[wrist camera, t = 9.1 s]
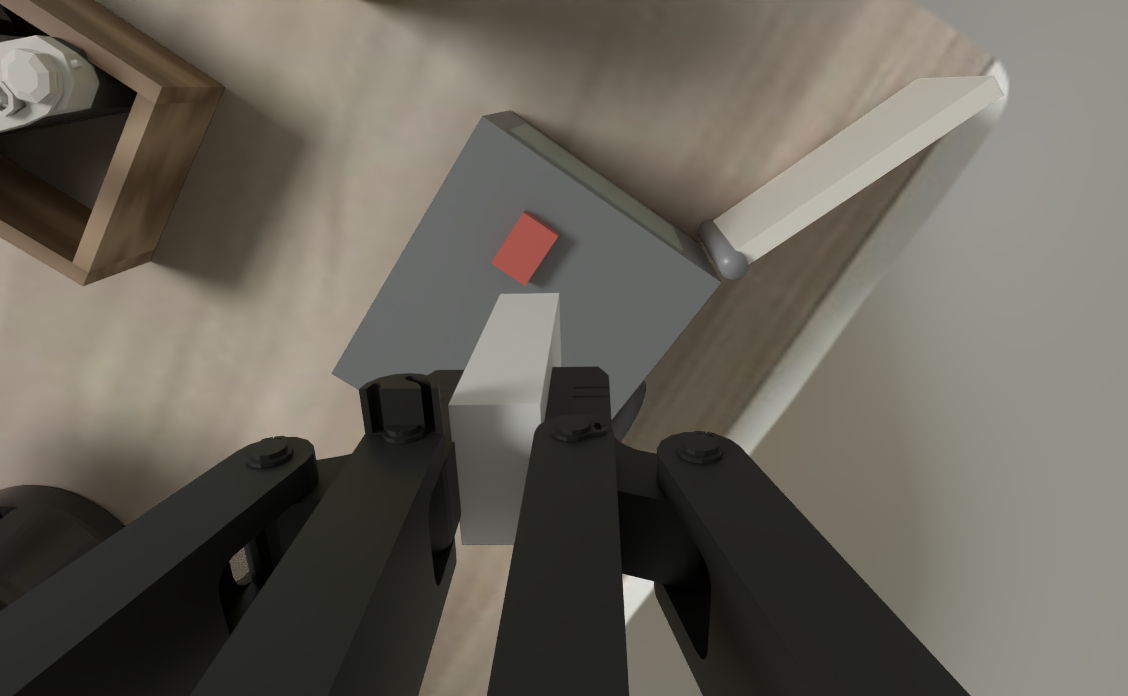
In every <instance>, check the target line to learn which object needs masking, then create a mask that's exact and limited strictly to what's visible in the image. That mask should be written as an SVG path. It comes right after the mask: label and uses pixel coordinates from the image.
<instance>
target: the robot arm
mask: <svg viewBox="0 0 1128 696" xmlns="http://www.w3.org/2000/svg"><path fill="white" fill-rule="evenodd" d="M359 394H360V400H361V407H362V414H363V421H364V427H365V435H364V437H363V438H362V440H361V441H360V443H359V444H358V446H357V447H356V449H355V450H354V452H353V453H352V454H348V455H344V456H339V457H333V458H327V459H321V460H316V456H315V451H314V446H313V445H312V444H311V443H310V442H309V441H308V440H305V439H302V438H298V437H285V436H277V437H274V438H273V437H270V438H265V439H262V440H261V441H259V442H256V443H253V444H250V445H248V446H246V447H244V448H242V449H240V450H238V451H237V452H235V453H233V454H232V455H231V456H229V457H228V458H226V459H225V460H223V461H222V462H220V463H219V464H217V465H216V466H214V467H213V468H211V469H210V470H208V471H207V472H205V473H204V474H202V475H201V476H199V477H198V478H197V479H195V480H194V481H192V482H191V483H189V484H188V485H186V486H185V487H183V488H182V489H180V490H179V491H177V492H176V493H174V494H173V495H171V496H170V497H168V498H167V499H165V500H164V501H163V502H161V503H160V504H158V505H157V506H155V507H154V508H152V509H151V510H149V511H148V512H146V513H145V514H143V515H142V516H140V517H139V518H137V519H136V520H134V521H133V522H131V523H130V524H129V525H127V526H126V527H123V526H122V525H121V524H120V523H119V522H118V521H117V520H116V519H115V518H113V517H112V516H111V515H110V514H108V513H107V512H106V511H104V510H103V509H101V508H100V507H98V506H97V505H95V504H93V503H91V502H90V501H88V500H86V499H84V498H82V497H79V496H77V495H75V494H72V493H69V492H66V491H63V490H60V489H56V488H51V487H46V486H36V485H23V486H14V487H10V488H6V489H3V490H0V696H418V694H419V691H420V687H421V684H422V680H423V677H424V673H425V670H426V666H427V663H428V660H429V656H430V653H431V649H432V646H433V642H434V639H435V635H436V632H437V628H438V625H439V621H440V618H441V614H442V611H443V608H444V604H445V601H446V597H447V594H448V590H449V587H450V583H451V580H452V576H453V573H454V569H455V566H456V547H455V537H454V536H455V533H456V530H457V527H458V524H459V520H460V530H461V540H462V545H514V548H513V553H512V559H511V565H510V570H509V576H508V581H507V587H506V592H505V598H504V604H503V609H502V615H501V620H500V626H499V631H498V637H497V642H496V648H495V654H494V659H493V665H492V670H491V676H490V681H489V687H488V692H487V696H629V686H628V669H627V651H626V634H625V616H624V599H623V582H622V574H626V575H630V576H634V577H639V578H643V579H647V580H651V581H654V589H655V594H656V597H657V600H658V602H659V604H660V606H661V608H662V610H663V612H664V614H665V617H666V618H667V621H668V623H669V625H670V627H671V629H672V631H673V634H674V636H675V638H676V640H677V642H678V644H679V646H680V648H681V650H682V653H683V655H684V657H685V659H686V661H687V663H688V665H689V667H690V669H691V671H692V674H693V676H694V678H695V680H696V682H697V684H698V686H699V688H700V691H701V693H702V695H703V696H970V695H969V694H968V693H967V691H966V690H965V689H964V688H963V687H962V686H961V685H960V684H959V683H958V682H957V681H956V680H955V679H954V678H953V676H952V675H951V674H950V673H949V672H948V671H947V670H946V669H945V668H944V667H943V666H942V664H940V662H939V661H938V660H937V659H936V658H935V657H934V656H933V655H932V654H931V653H930V652H929V650H928V649H927V648H926V647H925V646H924V645H923V644H922V643H921V642H920V641H919V640H918V638H917V637H916V636H915V635H914V634H913V633H912V632H911V631H910V630H909V629H908V628H907V627H906V626H905V624H904V623H903V622H902V621H901V620H900V619H899V618H898V617H897V616H896V615H895V614H894V613H893V611H892V610H891V609H890V608H889V607H888V606H887V605H886V604H885V603H884V602H883V601H882V600H881V599H880V598H879V596H878V595H877V594H876V593H875V592H874V591H873V590H872V589H871V588H870V587H869V585H868V584H867V583H866V582H864V580H863V579H862V578H861V577H860V576H859V575H858V574H857V573H856V571H854V570H853V568H852V567H851V566H850V565H849V564H848V563H847V562H846V561H845V560H844V558H843V557H841V555H840V554H839V553H838V552H837V551H836V550H835V549H834V548H833V547H832V545H831V544H830V543H829V542H828V541H827V540H826V539H825V538H824V537H823V536H822V535H821V534H820V533H819V531H818V530H817V529H816V528H815V527H814V526H813V525H812V524H811V523H810V522H809V521H808V520H807V518H805V516H804V515H803V514H802V513H801V512H800V511H799V510H798V509H797V508H796V507H795V505H794V504H793V503H792V502H791V501H790V500H789V499H788V498H787V497H786V496H785V495H784V494H783V493H782V492H781V491H780V489H779V488H778V487H777V486H776V485H775V484H774V483H773V482H772V481H771V480H770V478H769V477H768V476H767V475H766V474H765V473H764V472H763V471H762V470H761V469H760V468H759V467H758V465H757V464H756V463H755V462H754V461H753V460H752V459H751V458H750V457H749V456H748V455H747V454H746V453H745V451H744V450H743V449H742V448H741V447H740V446H738V445H737V444H736V443H734V442H733V441H732V440H730V439H727V438H725V437H722V436H719V435H717V434H715V433H710V432H707V433H705V432H704V431H695V432H684V433H680V434H676V435H671V436H669V437H668V438H666V439H664V440H663V441H661V443H660V445H659V446H658V448H657V454H655V453H649V452H644V451H640V450H636V449H633V448H631V447H628V446H626V445H624V444H623V443H621V442H620V441H618V440H617V438H616V437H615V436H614V431H613V429H612V419H611V402H610V385H609V375H608V374H606V373H605V372H604V371H603V370H602V369H601V368H600V367H599V366H595V367H561V337H560V306H559V293H528V294H500V296H499V298H498V300H497V302H496V304H495V306H494V309H493V311H492V313H491V315H490V317H489V319H488V321H487V324H486V326H485V328H484V330H483V332H482V334H481V336H480V338H479V341H478V343H477V345H476V347H475V349H474V351H473V353H472V355H471V358H470V360H469V362H468V364H467V366H466V368H465V370H435V371H434V372H432V373H430V374H429V375H424V374H416V373H403V374H393V375H388V376H384V377H380V378H377V379H375V380H372V381H370V382H367V383H366V384H365V385H363V386H362V387H361V388H359ZM243 547H244V550H245V554H246V558H247V563H248V567H249V572H248V573H247V574H246V575H245V576H244V577H243V578H242V579H240V580H238V581H237V582H236V581H235V580H234V578H233V575H232V571H231V567H230V563H229V560H230V559H231V558H232V557H233V556H234V555H235V554H236V553H237V552H238V551H239V550H241V549H242V548H243Z"/></svg>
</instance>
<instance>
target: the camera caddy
mask: <svg viewBox="0 0 1128 696" xmlns="http://www.w3.org/2000/svg"><path fill="white" fill-rule="evenodd" d="M0 4H1V5H3V6H4V7H6V8H8V9H9V10H11V11H12V12H14V13H15V14H17V15H18V16H20V17H22V18H23V19H25V20H26V21H28V22H29V23H31V24H32V25H34V26H35V27H37V28H39V29H40V30H42V31H43V32H45V33H46V34H48V35H49V36H51V37H59V38H61V39H63V40H65V41H67V42H69V43H71V44H73V45H75V46H77V47H79V48H81V49H83V50H84V51H85V53H86V56H87V58H88V60H89V61H90V62H91V63H93V64H94V65H96V66H97V67H99V68H101V69H102V70H104V71H105V72H107V73H108V74H110V75H111V76H113V77H115V78H116V79H118V80H119V81H121V82H122V83H124V84H125V85H127V86H128V87H130V88H132V89H133V90H135V91H136V92H138V93H137V95H136V98H135V101H134V103H133V106H132V108H131V111H130V114H129V116H128V119H127V121H126V124H125V127H124V129H123V132H122V134H121V137H120V140H119V142H118V145H117V148H116V150H115V153H114V155H113V158H112V161H111V163H110V166H109V168H108V171H107V174H106V176H105V179H104V181H103V184H102V187H101V189H100V192H99V194H98V197H97V200H96V202H95V205H94V207H93V210H92V211H91V210H90V209H88V208H86V207H85V206H83V205H81V204H80V203H78V202H77V201H75V200H73V199H72V198H70V197H68V196H67V195H65V194H63V193H62V192H60V191H59V190H57V189H55V188H54V187H52V186H50V185H49V184H47V183H45V182H44V181H42V180H41V179H39V178H37V177H36V176H34V175H32V174H31V173H29V172H27V171H26V170H24V169H23V168H21V167H19V166H18V165H16V164H14V163H13V162H11V161H9V160H8V159H6V158H4V157H3V156H1V155H0V237H1V238H2V239H4V240H6V241H7V242H9V243H11V244H13V245H14V246H16V247H18V248H19V249H21V250H23V251H24V252H26V253H28V254H29V255H31V256H33V257H35V258H36V259H38V260H40V261H41V262H43V263H45V264H46V265H48V266H50V267H51V268H53V269H55V270H57V271H58V272H60V273H62V274H63V275H65V276H67V277H68V278H70V279H72V280H73V281H75V282H77V283H79V284H80V285H82V286H85V285H88V284H90V283H93V282H96V281H98V280H101V279H104V278H107V277H109V276H112V275H115V274H117V273H120V272H123V271H125V270H128V269H131V268H133V267H136V266H139V265H142V264H144V263H147V262H150V260H151V257H152V255H153V253H154V250H155V248H156V246H157V243H158V241H159V239H160V236H161V234H162V232H163V229H164V227H165V225H166V222H167V220H168V218H169V216H170V213H171V211H172V209H173V206H174V204H175V202H176V199H177V197H178V195H179V192H180V190H181V188H182V185H183V183H184V181H185V178H186V176H187V174H188V172H189V169H190V167H191V165H192V162H193V160H194V158H195V155H196V153H197V151H198V148H199V146H200V144H201V141H202V139H203V137H204V134H205V132H206V130H207V127H208V125H209V123H210V121H211V118H212V116H213V114H214V111H215V109H216V107H217V104H218V102H219V100H220V97H221V95H222V93H223V90H224V88H225V87H224V86H222V85H221V84H219V83H218V82H216V81H215V80H213V79H212V78H210V77H209V76H207V75H206V74H204V73H203V72H201V71H200V70H198V69H197V68H195V67H194V66H192V65H191V64H189V63H188V62H186V61H185V60H183V59H182V58H180V57H179V56H177V55H175V54H174V53H172V52H171V51H169V50H168V49H166V48H165V47H163V46H162V45H160V44H159V43H157V42H156V41H154V40H153V39H151V38H150V37H148V36H147V35H145V34H144V33H142V32H141V31H139V30H138V29H136V28H135V27H133V26H132V25H130V24H129V23H127V22H126V21H124V20H123V19H121V18H119V17H118V16H116V15H115V14H113V13H112V12H110V11H109V10H107V9H106V8H104V7H103V6H101V5H100V4H98V3H97V2H95V1H94V0H0Z"/></svg>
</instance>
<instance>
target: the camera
mask: <svg viewBox="0 0 1128 696" xmlns="http://www.w3.org/2000/svg"><path fill="white" fill-rule="evenodd" d="M5 9H6V7H4V6H3V5H1V4H0V135H4V134H9V133H15V132H20V131H26V130H31V129H37V128H42V127H48V126H53V125H59V124H64V123H70V122H75V121H81V120H87V119H92V118H98V117H103V116H109V115H114V114H120V113H125V112H130V111H131V108H132V106H133V103H134V101H135V98H136V95H137V93H138V92H136V91H135V90H133V89H132V88H130V87H128V86H127V85H125V84H124V83H122V82H121V81H119V80H118V79H116V78H115V77H113V76H111V75H110V74H108V73H107V72H105V71H104V70H102V69H101V68H99V67H97V66H96V65H94V64H93V63H91V62H90V61H89V60H88V58H87V56H86V53H85V51H84V50H83V49H81V48H79V47H77V46H75V45H73V44H71V43H69V42H67V41H65V40H63V39H61V38H59V37H49V36H38V35H35V36H30V37H19V36H17V34H16V32H15V29H14V27H13V24H12V22H11V19H10V17H9V16H8V15H6V13H5V11H4V10H5Z"/></svg>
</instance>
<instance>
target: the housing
mask: <svg viewBox="0 0 1128 696" xmlns="http://www.w3.org/2000/svg"><path fill="white" fill-rule="evenodd" d="M720 284H721V281H720V280H719V278H718V276H717V274H716V272H715V271H714V269H713V267H712V265H711V264H710V262H709V260H708V258H707V256H706V255H705V253H704V251H703V249H702V248H701V246H700V244H699V243H698V242H696V241H695V240H693V239H692V238H690V237H689V236H688V235H686V234H685V233H683V232H682V231H681V230H679V229H678V228H676V227H675V226H673V225H672V224H671V223H669V222H668V221H666V220H665V219H663V218H662V217H661V216H659V215H658V214H656V213H655V212H654V211H652V210H651V209H649V208H648V207H646V206H645V205H644V204H642V203H641V202H639V201H638V200H636V199H635V198H634V197H632V196H631V195H629V194H628V193H627V192H625V191H624V190H622V189H621V188H619V187H618V186H617V185H615V184H614V183H612V182H611V181H610V180H608V179H607V178H605V177H604V176H602V175H601V174H600V173H598V172H597V171H595V170H594V169H592V168H591V167H590V166H588V165H587V164H585V163H584V162H583V161H581V160H580V159H578V158H577V157H575V156H574V155H573V154H571V153H570V152H568V151H567V150H565V149H564V148H563V147H561V146H560V145H558V144H557V143H556V142H554V141H553V140H551V139H550V138H548V137H547V136H546V135H544V134H543V133H541V132H540V131H538V130H537V129H536V128H534V127H533V126H531V125H530V124H529V123H527V122H526V121H524V120H523V119H521V118H520V117H519V116H517V115H516V114H514V113H513V112H512V111H505V112H500V113H495V114H490V115H485V116H482V117H481V119H480V121H479V123H478V124H477V126H476V128H475V129H474V131H473V133H472V134H471V136H470V138H469V140H468V141H467V143H466V145H465V146H464V148H463V150H462V152H461V153H460V155H459V157H458V158H457V160H456V162H455V164H454V165H453V167H452V169H451V170H450V172H449V174H448V175H447V177H446V179H445V181H444V182H443V184H442V186H441V187H440V189H439V191H438V193H437V194H436V196H435V198H434V199H433V201H432V203H431V204H430V206H429V208H428V210H427V211H426V213H425V215H424V216H423V218H422V220H421V222H420V223H419V225H418V227H417V228H416V230H415V232H414V233H413V235H412V237H411V239H410V240H409V242H408V244H407V245H406V247H405V249H404V251H403V252H402V254H401V256H400V257H399V259H398V261H397V262H396V264H395V266H394V268H393V269H392V271H391V273H390V274H389V276H388V278H387V280H386V281H385V283H384V285H383V286H382V288H381V290H380V292H379V293H378V295H377V297H376V298H375V300H374V302H373V303H372V305H371V307H370V309H369V310H368V312H367V314H366V315H365V317H364V319H363V321H362V322H361V324H360V326H359V327H358V329H357V331H356V332H355V334H354V336H353V338H352V339H351V341H350V343H349V344H348V346H347V348H346V350H345V351H344V353H343V355H342V356H341V358H340V360H339V361H338V363H337V365H336V367H335V368H334V370H333V372H332V373H331V374H333V375H335V376H336V377H338V378H340V379H341V380H343V381H345V382H346V383H348V384H350V385H351V386H353V387H355V388H356V389H358V390H359V388H361V387H362V386H363V385H365V384H366V383H367V382H370V381H372V380H375V379H377V378H380V377H384V376H388V375H393V374H403V373H416V374H424V375H429V374H430V373H432V372H434V371H435V370H465V368H466V366H467V364H468V362H469V360H470V358H471V355H472V353H473V351H474V349H475V347H476V345H477V343H478V341H479V338H480V336H481V334H482V332H483V330H484V328H485V326H486V324H487V321H488V319H489V317H490V315H491V313H492V311H493V309H494V306H495V304H496V302H497V300H498V298H499V296H500V294H528V293H559V306H560V337H561V367H595V366H599V367H600V368H601V369H602V370H603V371H604V372H605V373H606V374H608V375H609V385H610V402H611V419H612V429H613V431H614V436H615V437H616V438H617V440H618V441H620V442H621V440H622V439H623V437H624V436H625V435H626V433H627V432H628V430H629V428H630V427H631V425H632V423H633V422H634V420H635V418H636V416H637V414H638V412H639V410H640V407H641V405H642V402H643V399H644V396H645V392H646V384H645V382H644V381H643V380H644V379H645V378H646V376H647V375H648V374H649V373H650V371H651V370H652V369H653V368H654V366H655V365H656V364H657V363H658V361H659V360H660V359H661V358H662V356H663V355H664V354H665V353H666V351H667V350H668V349H669V348H670V346H671V345H672V344H673V343H674V341H675V340H676V339H677V338H678V336H679V335H680V334H681V333H682V331H683V330H684V329H685V328H686V326H687V325H688V324H689V323H690V321H691V320H692V319H693V318H694V316H695V315H696V314H697V312H698V311H699V310H700V309H701V307H702V306H703V305H704V304H705V302H706V301H707V300H708V299H709V297H710V296H711V295H712V294H713V292H714V291H715V290H716V289H717V287H718V286H719V285H720Z"/></svg>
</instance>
